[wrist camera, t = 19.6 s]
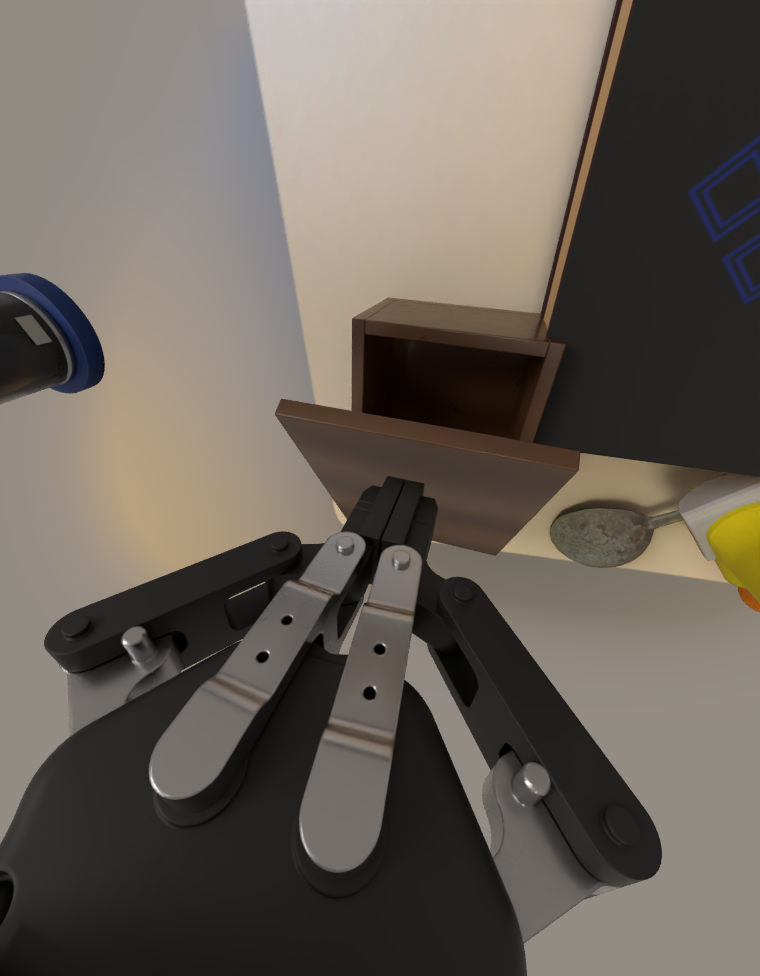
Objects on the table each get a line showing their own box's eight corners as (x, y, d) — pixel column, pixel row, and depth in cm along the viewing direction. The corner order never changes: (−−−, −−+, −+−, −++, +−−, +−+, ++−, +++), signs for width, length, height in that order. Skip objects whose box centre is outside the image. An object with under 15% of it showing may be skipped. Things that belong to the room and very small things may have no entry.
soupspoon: (536, 512, 35) (568, 561, 36) (536, 534, 32) (570, 585, 34) (890, 390, 22) (914, 473, 24) (938, 410, 19) (961, 502, 21)
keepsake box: (387, 297, 27) (351, 317, 21) (552, 315, 24) (566, 344, 18) (378, 463, 35) (350, 512, 29) (499, 488, 33) (496, 546, 27)
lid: (280, 397, 15) (273, 414, 15) (581, 450, 13) (579, 470, 12) (350, 511, 29) (347, 520, 29) (497, 545, 27) (495, 555, 27)
